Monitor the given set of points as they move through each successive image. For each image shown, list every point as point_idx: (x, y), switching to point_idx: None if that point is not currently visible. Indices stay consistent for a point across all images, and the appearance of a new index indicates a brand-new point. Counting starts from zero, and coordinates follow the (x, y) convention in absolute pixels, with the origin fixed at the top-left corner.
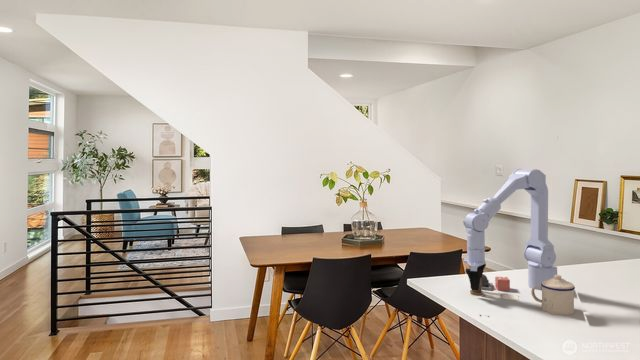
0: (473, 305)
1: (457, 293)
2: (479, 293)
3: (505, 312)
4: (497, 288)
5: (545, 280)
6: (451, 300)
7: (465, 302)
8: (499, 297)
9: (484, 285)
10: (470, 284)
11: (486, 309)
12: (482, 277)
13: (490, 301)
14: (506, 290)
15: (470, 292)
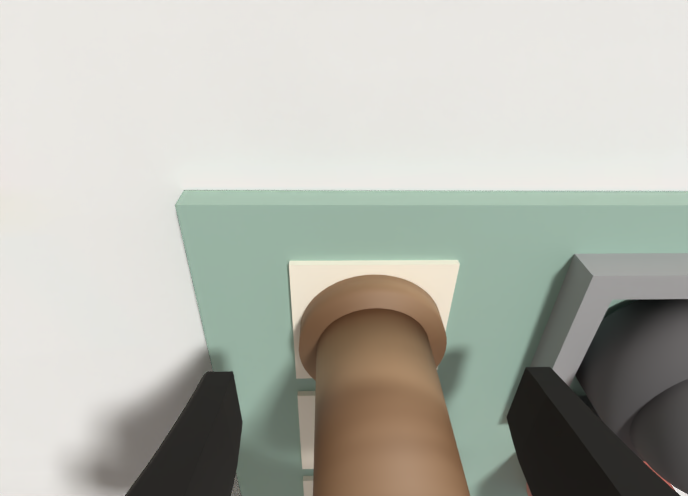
0: (54, 308)
1: (433, 96)
2: (312, 373)
3: (63, 476)
4: None
5: None
6: (50, 54)
7: (96, 233)
8: None
9: (590, 401)
10: (169, 435)
11: (28, 394)
12: (678, 476)
13: None
14: (527, 484)
15: (343, 290)
